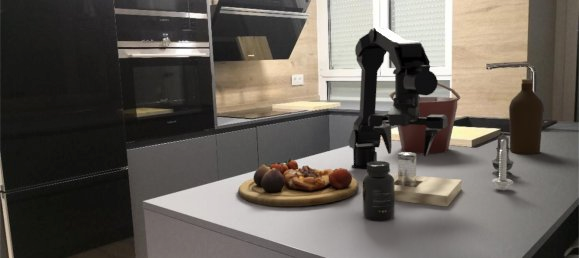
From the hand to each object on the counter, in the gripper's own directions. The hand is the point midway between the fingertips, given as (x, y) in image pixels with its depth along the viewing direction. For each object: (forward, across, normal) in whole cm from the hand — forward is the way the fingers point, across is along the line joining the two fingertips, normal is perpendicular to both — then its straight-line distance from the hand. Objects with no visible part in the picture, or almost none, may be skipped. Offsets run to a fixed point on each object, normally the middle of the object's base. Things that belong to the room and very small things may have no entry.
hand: (407, 154), depth 123 cm
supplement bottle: (+10, 0, -21) cm, 23 cm away
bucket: (+10, -11, +59) cm, 61 cm away
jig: (+10, +3, 0) cm, 10 cm away
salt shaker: (+10, +19, +29) cm, 36 cm away
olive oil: (+10, +22, +65) cm, 69 cm away
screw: (+10, +21, +12) cm, 26 cm away
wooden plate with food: (+10, -27, -9) cm, 30 cm away
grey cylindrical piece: (+10, 0, 0) cm, 10 cm away
